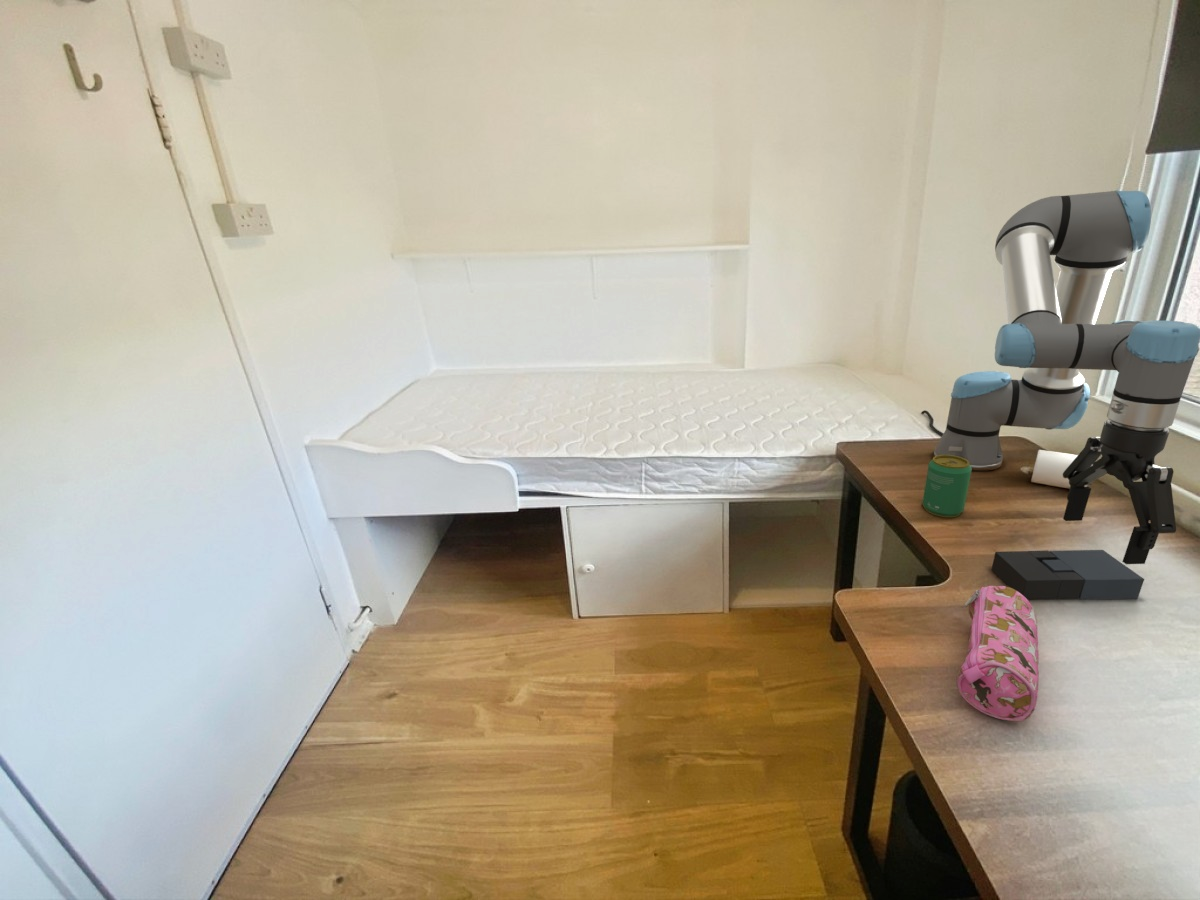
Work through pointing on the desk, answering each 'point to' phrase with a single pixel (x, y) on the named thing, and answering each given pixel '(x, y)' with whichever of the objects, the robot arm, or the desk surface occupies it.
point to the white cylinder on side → (1052, 468)
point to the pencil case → (1001, 655)
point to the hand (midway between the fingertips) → (1100, 540)
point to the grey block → (1097, 574)
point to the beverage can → (946, 485)
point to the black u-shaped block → (1035, 576)
